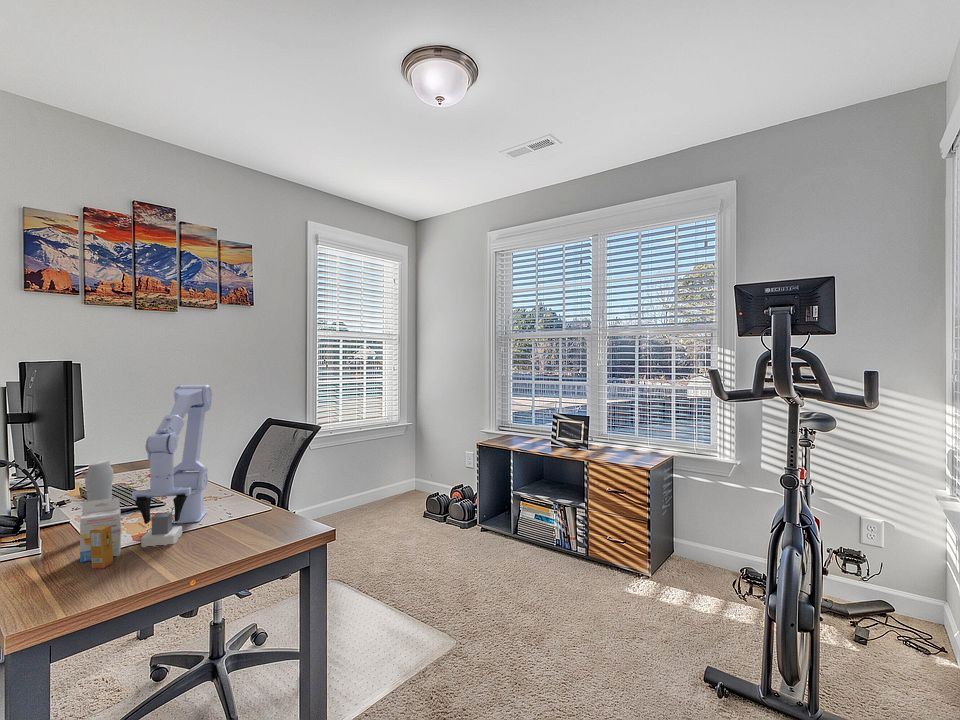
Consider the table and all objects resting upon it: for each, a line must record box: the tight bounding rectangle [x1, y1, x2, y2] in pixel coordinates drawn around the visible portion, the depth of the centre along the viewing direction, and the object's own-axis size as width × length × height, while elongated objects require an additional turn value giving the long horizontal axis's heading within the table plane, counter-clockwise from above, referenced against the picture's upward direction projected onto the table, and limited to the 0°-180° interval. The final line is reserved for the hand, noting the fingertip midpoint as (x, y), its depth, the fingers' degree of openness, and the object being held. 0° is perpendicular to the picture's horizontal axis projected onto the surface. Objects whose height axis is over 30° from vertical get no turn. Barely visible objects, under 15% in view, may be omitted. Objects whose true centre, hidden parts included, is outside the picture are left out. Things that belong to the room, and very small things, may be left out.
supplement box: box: [90, 526, 114, 569], centre depth 126 cm, size 3×3×10 cm
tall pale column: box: [84, 459, 114, 507], centre depth 148 cm, size 11×4×22 cm, turn 1°
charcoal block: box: [151, 511, 173, 535], centre depth 143 cm, size 4×4×5 cm
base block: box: [140, 525, 183, 548], centre depth 143 cm, size 8×8×3 cm
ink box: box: [79, 497, 122, 563], centre depth 132 cm, size 8×5×15 cm, turn 123°
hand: (162, 521), depth 143 cm, fingers open, 7 cm apart
